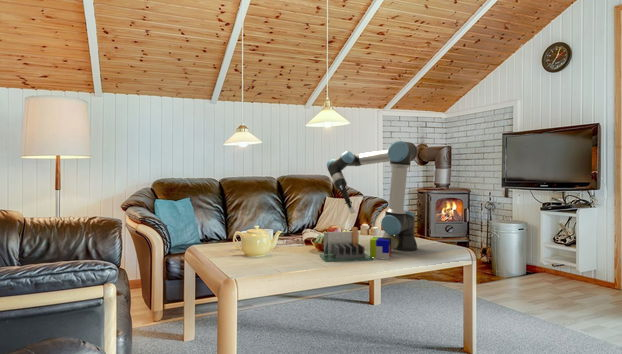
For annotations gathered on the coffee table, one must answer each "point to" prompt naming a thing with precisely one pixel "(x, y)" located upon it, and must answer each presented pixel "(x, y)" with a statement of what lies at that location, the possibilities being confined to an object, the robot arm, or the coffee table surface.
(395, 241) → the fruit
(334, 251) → the model factory
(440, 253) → the coffee table surface
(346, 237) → the upright grey panel
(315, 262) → the coffee table surface
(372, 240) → the puzzle toy
